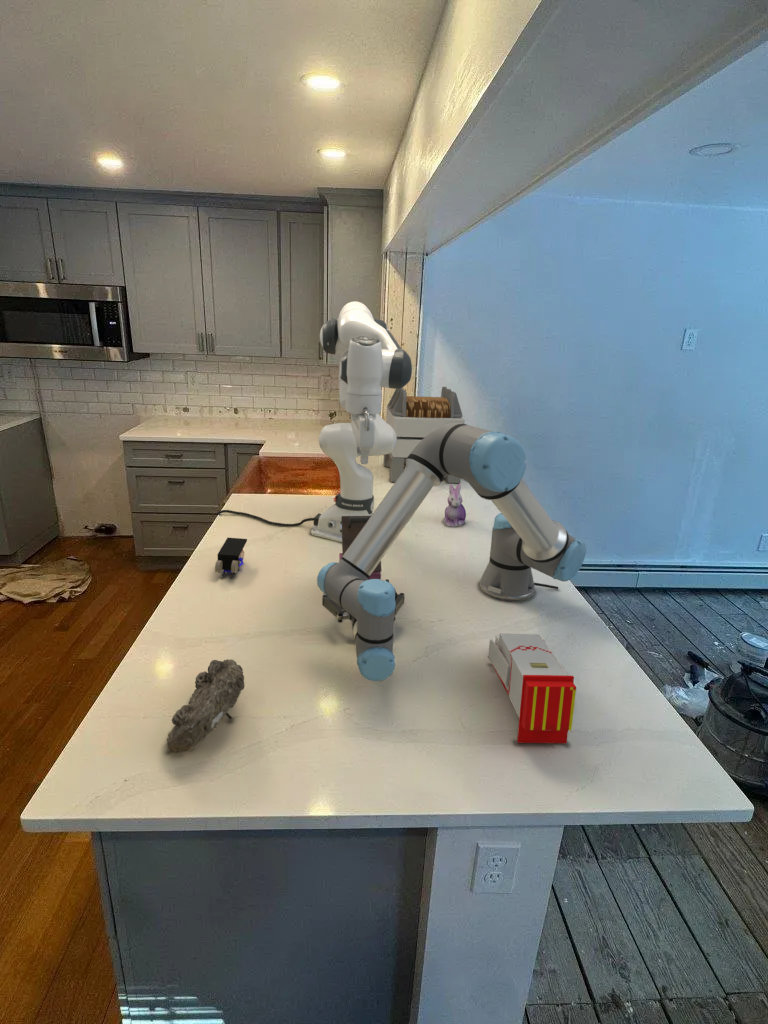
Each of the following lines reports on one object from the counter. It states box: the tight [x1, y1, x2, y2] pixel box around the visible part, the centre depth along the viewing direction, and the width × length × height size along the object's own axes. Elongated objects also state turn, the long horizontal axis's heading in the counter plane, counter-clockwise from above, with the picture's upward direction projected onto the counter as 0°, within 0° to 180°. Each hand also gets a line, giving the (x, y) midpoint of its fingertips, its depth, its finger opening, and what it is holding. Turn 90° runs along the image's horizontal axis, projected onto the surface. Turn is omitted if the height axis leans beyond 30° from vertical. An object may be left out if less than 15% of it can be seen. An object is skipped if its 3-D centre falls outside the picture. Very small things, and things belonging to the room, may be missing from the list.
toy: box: [487, 632, 577, 744], centre depth 116 cm, size 12×13×30 cm
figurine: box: [443, 483, 467, 528], centre depth 210 cm, size 9×10×15 cm
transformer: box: [383, 386, 465, 484], centre depth 268 cm, size 34×33×41 cm
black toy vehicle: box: [214, 537, 248, 578], centre depth 166 cm, size 7×8×15 cm
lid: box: [341, 516, 382, 573], centre depth 146 cm, size 15×10×9 cm
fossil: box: [166, 658, 245, 754], centre depth 106 cm, size 22×10×15 cm
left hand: (362, 458), depth 146 cm, fingers open, 8 cm apart
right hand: (360, 584), depth 147 cm, fingers open, 13 cm apart
